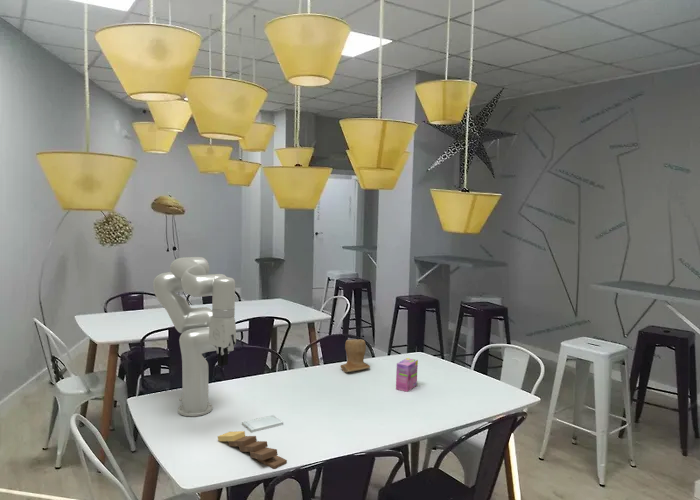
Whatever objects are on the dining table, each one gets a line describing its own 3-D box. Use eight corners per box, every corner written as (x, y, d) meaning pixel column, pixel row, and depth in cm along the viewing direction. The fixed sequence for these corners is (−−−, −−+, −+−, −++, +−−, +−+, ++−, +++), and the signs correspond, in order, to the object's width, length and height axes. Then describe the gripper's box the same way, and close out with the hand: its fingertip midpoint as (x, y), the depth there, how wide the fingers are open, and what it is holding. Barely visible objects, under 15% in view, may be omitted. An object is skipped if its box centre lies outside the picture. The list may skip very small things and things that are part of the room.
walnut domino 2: (239, 446, 163) (254, 446, 158) (251, 441, 166) (266, 441, 161) (240, 451, 163) (255, 451, 157) (252, 446, 166) (267, 446, 161)
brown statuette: (358, 364, 261) (359, 335, 260) (373, 370, 251) (374, 340, 250) (334, 368, 252) (334, 338, 251) (348, 375, 242) (348, 344, 241)
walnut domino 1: (228, 441, 166) (243, 441, 161) (240, 436, 170) (255, 435, 165) (229, 446, 166) (244, 446, 161) (241, 441, 170) (256, 440, 165)
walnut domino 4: (256, 457, 157) (274, 466, 152) (269, 451, 161) (286, 460, 155) (256, 462, 157) (274, 471, 152) (269, 456, 161) (286, 465, 156)
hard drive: (273, 414, 190) (241, 421, 183) (283, 421, 184) (251, 429, 177) (273, 418, 191) (241, 426, 183) (283, 426, 184) (251, 434, 177)
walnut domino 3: (249, 452, 158) (262, 454, 152) (264, 447, 161) (276, 449, 155) (250, 457, 158) (263, 460, 152) (265, 452, 161) (277, 454, 155)
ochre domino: (230, 436, 173) (245, 436, 169) (218, 441, 170) (233, 441, 165) (229, 431, 174) (244, 431, 169) (217, 436, 170) (232, 436, 165)
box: (407, 392, 220) (408, 365, 220) (395, 389, 223) (396, 363, 223) (417, 385, 229) (418, 359, 228) (405, 383, 232) (406, 357, 231)
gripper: (201, 311, 179) (201, 362, 180) (227, 318, 169) (226, 372, 171) (219, 308, 184) (218, 358, 186) (245, 315, 175) (244, 367, 176)
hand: (222, 364), depth 178 cm, fingers closed
